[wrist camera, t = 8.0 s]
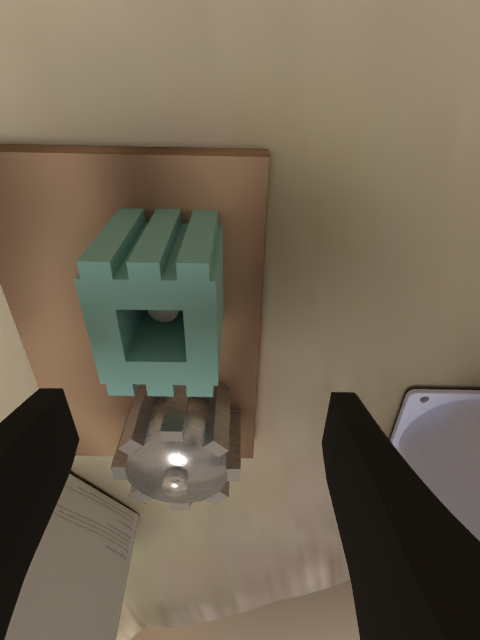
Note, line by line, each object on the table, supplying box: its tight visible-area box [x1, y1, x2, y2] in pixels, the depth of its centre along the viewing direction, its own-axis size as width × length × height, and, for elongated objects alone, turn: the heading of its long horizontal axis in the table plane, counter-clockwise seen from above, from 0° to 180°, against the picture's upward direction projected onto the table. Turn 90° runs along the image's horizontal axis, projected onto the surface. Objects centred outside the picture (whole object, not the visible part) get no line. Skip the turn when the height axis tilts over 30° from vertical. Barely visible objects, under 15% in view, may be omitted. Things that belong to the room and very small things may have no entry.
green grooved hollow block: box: [74, 208, 224, 397], centre depth 15 cm, size 4×6×5 cm
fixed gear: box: [111, 381, 241, 510], centre depth 21 cm, size 6×6×5 cm
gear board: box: [0, 144, 270, 458], centre depth 19 cm, size 12×18×4 cm, turn 179°
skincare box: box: [5, 474, 139, 640], centre depth 24 cm, size 8×6×15 cm
